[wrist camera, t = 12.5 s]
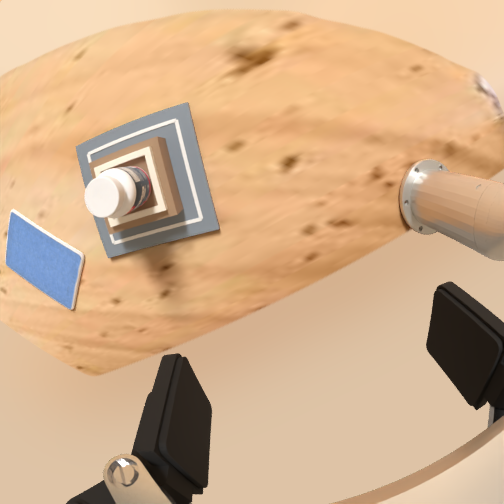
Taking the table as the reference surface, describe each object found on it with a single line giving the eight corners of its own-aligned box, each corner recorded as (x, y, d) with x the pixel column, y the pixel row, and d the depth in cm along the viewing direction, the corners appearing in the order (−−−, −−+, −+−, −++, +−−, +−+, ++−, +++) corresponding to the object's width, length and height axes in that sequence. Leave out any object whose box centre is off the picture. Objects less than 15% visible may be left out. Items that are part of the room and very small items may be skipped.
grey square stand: (188, 103, 32) (180, 94, 27) (219, 227, 38) (216, 239, 33) (78, 146, 33) (57, 147, 27) (110, 256, 39) (94, 270, 33)
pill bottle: (137, 215, 32) (107, 236, 24) (107, 192, 31) (71, 205, 22) (160, 181, 31) (134, 191, 23) (129, 157, 30) (95, 159, 21)
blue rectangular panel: (7, 262, 38) (3, 265, 37) (13, 206, 35) (9, 208, 34) (75, 309, 42) (72, 312, 41) (87, 252, 39) (83, 255, 38)
